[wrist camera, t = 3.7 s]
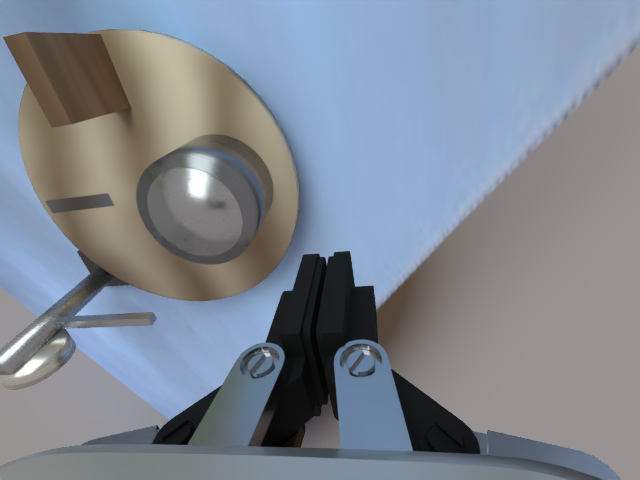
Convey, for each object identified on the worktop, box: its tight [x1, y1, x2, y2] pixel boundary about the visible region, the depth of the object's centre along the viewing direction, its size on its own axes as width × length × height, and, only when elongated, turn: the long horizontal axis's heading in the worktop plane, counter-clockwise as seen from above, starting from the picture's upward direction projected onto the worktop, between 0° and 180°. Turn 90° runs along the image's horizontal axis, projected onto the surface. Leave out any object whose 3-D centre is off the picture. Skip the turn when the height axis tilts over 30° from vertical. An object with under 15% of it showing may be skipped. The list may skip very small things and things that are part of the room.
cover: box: [136, 134, 274, 265], centre depth 21 cm, size 7×7×5 cm
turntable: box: [3, 29, 299, 301], centre depth 22 cm, size 20×20×6 cm
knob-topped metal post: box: [0, 250, 157, 390], centre depth 26 cm, size 11×4×12 cm, turn 99°
